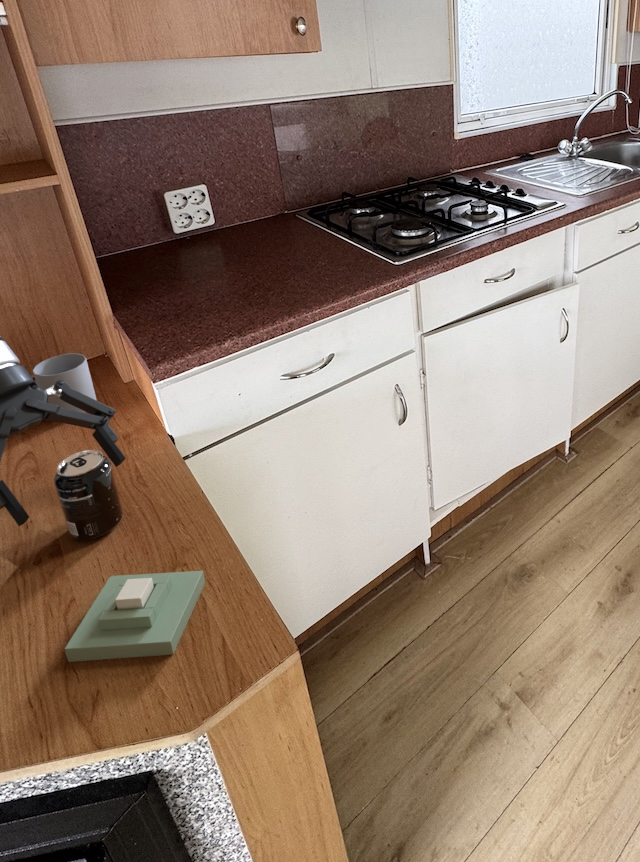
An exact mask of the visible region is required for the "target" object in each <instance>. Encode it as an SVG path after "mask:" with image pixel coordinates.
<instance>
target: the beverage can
mask: <svg viewBox="0 0 640 862" xmlns="http://www.w3.org/2000/svg"><path fill="white" fill-rule="evenodd" d="M53 484H54V488H55V491H56V495H57V498H58V500H59V504H60V508H61V511H62V514H63V518H64V522H65V524H66V527H67V530H68V533H69V536H70V537H71V538H72V539H73V540H74V539H75V540H78V541H88V540H89V541H90V540H94V539H98V538H100V537H102V536H104V535H106V534H107V533H109V532H111V531H112V530H113V529H115V527H116V526H117V525H118V524H119V523H120V522H121V520H122V519H123V515H124V514H123V507H122V504H121V499H120V493H119V490H118V487H117V484H116V479H115V475H114V471H113V466H112V464H111V460H110V458H109V457H108V456H107V457H106V456H105V455H104V454H103V452H102V451H100V450H97V449H85V450H82V451H78V452H75V453H73V454H71V455H69V456H67V457H66V458H64V459H62V460H61V462H59V463H58V465H57V466H56V473H55V475H54V477H53Z"/></svg>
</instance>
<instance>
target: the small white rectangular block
mask: <svg viewBox="0 0 640 862" xmlns="http://www.w3.org/2000/svg"><path fill="white" fill-rule="evenodd" d="M153 589H154V585H153V581H152V578H140V579H127V581H126V582H125V584H124V586H123V588H122V589H121V591H120V593H119V594H118V596H117V598H116V599H115V602H116V606H117V609H118V610H130V609H143V607H144V606H145V604H146V602H147V600H148V598H149V596H150V594H151V593H152V591H153Z"/></svg>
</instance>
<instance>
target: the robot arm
mask: <svg viewBox="0 0 640 862" xmlns="http://www.w3.org/2000/svg"><path fill="white" fill-rule="evenodd" d="M20 363H21V361H20V359H19V358H18V357H17V355H16V354H15V352H14V351H13V350H12V348H11V347H10V346H9V345H8V343H7V342H6V341H5V339H3V337H2V336H1V335H0V462H1V460H2V458H3V454H4V451H5V447H6V444H7V441H8V438H9V437H10V436H13V435H15V436H17V435H20V434H22V433H23V432H25V431H26V430H27V429H29V428H30V429H31V428H33V427H36V426H38V425H39V424H40V423H42V421H47V422H58V423H63V424H67V425H70V426H76V427H80V428H85V429H90V430H94V431H93V433H92V434H91V436H92V437H93V438H94V439H95V442H97V444H98V445H99V446H100V447H101V449H102V450H103V452H104V454H106V456H107V458H108V459H109V461H110V462H112V464H113V465H114V466H115V467H116V468H117V467H118V466H120V465H122V463H123V462H124V461H125V460H126V456H125V455H124V453H123V452H122V450H121V449H120V448H119V447H118V446H117V444H116V442H117V441H118V440H119V438H118V435H117V433H115V431H114V429H113V428H112V427H111V425H110V424H109V422H110V421H111V419H112V418H113V417H114V415H116V409H115V408H113V407H111V406H109V405H107V404H105V403H103V402H100V401H99V400H98V399H97V400H95V399H92V398H90V397H88V396H86V395H84V394H82V393H80V392H78V391H76V390H74V389H72V388H71V387H70V386H69V385H68V384H67V383H66V382H65V381H64V380H58V381H57V382H56V384H55V385H53V386H51V387H50V388H48V389H46V390H42V389H41V388H39V387H38V386H37V384H36V381H35V379H34V378H33V377H32V376H31V374H30V373H29V372H28V370H27V368H25V366H24V365H22V364H21V365H20ZM48 397H54V398H56V399H58V398H60V399H61V400H63V401H64V402H66V403H68V404H70V405H73V406H75V407H77V408H79V409H81V410H83V411H85V412H86V413H83V412H78V411H74V410H70V409H65V408H61V407H60V406H58V405H54V404H50V403H48ZM4 508H5V510H7V512H8V513H9V514H10V516H11V517H12V519H13V520H14V521H15V523H16V524H17V526H18V527H21V526H22V525H25V524H26V523H27V521H29V518H30V515H29V514H28V512H27V511H26V510H25V508H24V507H23V506H22V504H21V502H19V500H18V499H17V497H16V496H15V495H14V493H13V492H12V491H11V489H10V488H9V486H8V485H7V483H6V482H5V481H4V480H3V479H1V480H0V510H1V509H4Z"/></svg>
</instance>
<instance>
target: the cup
mask: <svg viewBox="0 0 640 862" xmlns="http://www.w3.org/2000/svg"><path fill="white" fill-rule="evenodd" d="M32 373H33V376H34V381H35V383H36V384H37V386H38V387H39V388H41V389H42V390H46V389H48V388H50V387H51V386H53V385H55V384H56V382H57V381H58V380H64V381H65V382H66V383H67V384H68V385H69V386H70V387H71V388H72V389H74V390H76V391H78V392H80V393H82V394H84V395H86V396H88V397H90V398H92V399H95V400H97V401H98V399H97V396H96V392H95V388H94V384H93V380H92V375H91V372H90V368H89V363H88V361H87V357H86V356H85V355H84V354H81V353H63V354H60V355H55V356H52V357H49V358H47V359H45V360H43V361H41V362H39V363H37V364H36V365H35V366H34V367H33V369H32ZM48 403H50V404H54V405H58V406H60V407H61V408H65V409H70V410H74V411H78V412H83V413H87V412H85V411H83V410H81V409H79V408H77V407H75V406H73V405H70V404H68V403H66V402H64V401H63V400H61V399H60V398H58V399H56V398H54V397H48Z"/></svg>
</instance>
